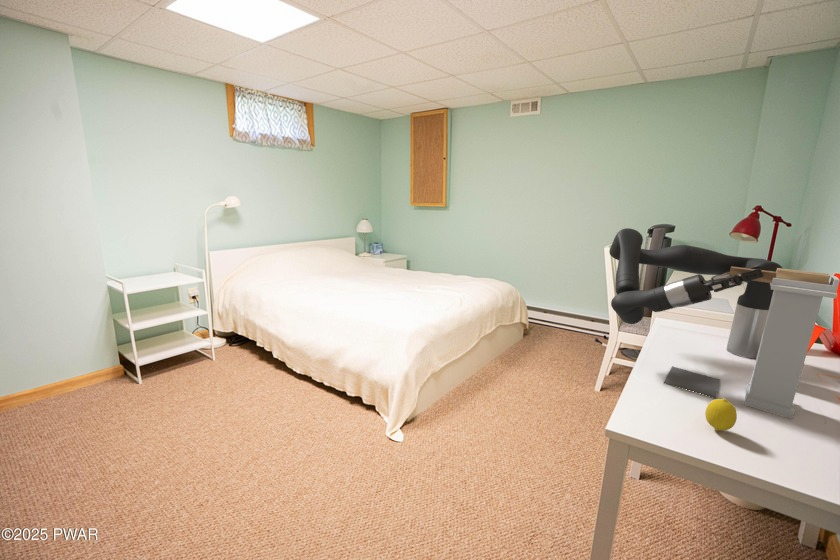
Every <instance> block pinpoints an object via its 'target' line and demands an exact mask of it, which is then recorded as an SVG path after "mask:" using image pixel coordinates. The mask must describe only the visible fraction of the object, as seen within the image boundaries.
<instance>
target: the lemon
mask: <svg viewBox="0 0 840 560" xmlns="http://www.w3.org/2000/svg"><path fill="white" fill-rule="evenodd" d="M704 415H705V420H706V421H707V423H708V424H709V425H710V426H711V427H712V428H713V429H714V430H715V431H717V432H720V431H728V430H731V429H732V428H733V427H734V426H735V424H736V422H737V415H738V414H737V410H736V407H735V406H734V405H733V404H732V402H730V401H728V400H727V399H726V398H716V399H715V398H714V399H713V400H711V401H710V402H709V403H708V404H707V406H706V409H705V413H704Z"/></svg>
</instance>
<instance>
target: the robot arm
mask: <svg viewBox="0 0 840 560" xmlns="http://www.w3.org/2000/svg"><path fill="white" fill-rule="evenodd" d="M643 242H644V238H643V235H642V234H641V232H639V231H638V230H636V229H634V228H628V227H627V228H622V229H621V230H619V231H617V232H616V234H615V236H614V239H613V240H612V243H611V245H610V248H609V255H610V256H611V257H612V258H613V259H615V260H617V261H618V265H617V267H616V269H617V270H616V274H615V285H614V286H615V294H616V295H615V296H613V298H612V299H611V302H610V306H611V308H612V309H613V311H614V312H615V313H616V314H617V316H618V317H619V318H620V319H621V321H622V322H624V323H626V324H628V325H636V324H638V323H640V322H641V321H642V320H643V319H644V316H645V308H646V309H648V310H650V311H651V312H653V313H661V312H663V311H669V310H672V309H677V308H683V307H687V306H691V305H695V304H698V303H699V304H700V303H703V302H706V301H710V300H711V299H712V297H713V296H712V291H713V292H714V293H718V292H722V291H724V290H728V289H732V288H734V287H738V286H741V285H743V284H745V283H746V287H745V291H744V292H743V294H741V295H739V296H738V298H737V300H736V301H737V302H736V304H735V305H736V306H735V310H734V314H733V315H734V316H733V319H732V323H731V327H730V331H729V336H728V340H727V343H726V348H725V349H726V351H727V352H729V353H731V354H733V355H735V356H739V357H742V358H747V359H757V355H758V351H759V347H760V343H761V339H762V335H763V331H764V327H765V323H766V319H767V315H768V311H769V307H770V303H771V299H772V295H773V291H774V290H772V289H771V286H770V283H767V282H760V281H752V280H754V279H757V278H761V277H763V273H762V271H761V270H765V271H773V272H776V271H777V268H781V269H784V268H783V266H781V265H780V264H779V263H777V262H775V261H772V260H768V259H763V258H755V257H743V256H735V255H727V254H725V253H721V252H718V251H715V250H711V249H708V248H707V249H706V248H703V247H698V246H693V245H687V244H678V245H673V246H667V247H662V248H656V249H646V248H645V249H644V248H642V245H643ZM640 265H648V266H655V267H660V268H665V269H672V270H676V271H680V272H684V273H690V274H695V275H692V276H689V277H685V278H682V279H679V280H675V281H672V282H669V283H668V284H665V285H662V286H658V287H655V288H651V289H640ZM731 267H739V268H748V269H755V270H752V271H748V272H745V273H742V274H736V275H731V274H729V273H730V269H731ZM705 275H707V276H711V277H710V279H707V280H706V279H705V277H704V276H705Z"/></svg>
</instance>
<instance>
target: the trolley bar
mask: <svg viewBox="0 0 840 560" xmlns="http://www.w3.org/2000/svg"><path fill="white" fill-rule="evenodd" d="M752 270H755V269H748V268H739V267H731V269H730V273H729V274H731V275H736V274H742V273H745V272H748V271H752ZM761 271H762V273H763V277H761V278H757V279H754V280H752V281H760V282H767V283H772V280H773V278H778V279H786V280H794V281H802V282H810V283H818V284H826V285H828V283H829V281H830V278H831V275H829V273H824V272H823V273H822V272H815V271H805V270H797V269H789V268H783V269H781V268H777V271H776V272H773V271H765V270H761Z"/></svg>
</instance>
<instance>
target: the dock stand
mask: <svg viewBox="0 0 840 560" xmlns="http://www.w3.org/2000/svg"><path fill="white" fill-rule="evenodd" d="M839 284H840V279H839V278H838V277H837V276H835V275H830V279H829V283H828V285H826V284H818V283H810V282H802V281H794V280H786V279H778V278H773V280H772V283H770V286H771V289H772V290H774V291H773V295H772V299H771V303H770V307H769V311H768V315H767V319H766V323H765V327H764V331H763V335H762V339H761V343H760V347H759V351H758V355H757V358H755V362H754V363H755V364H754V366H753V367H754V368H753V372H752V375H751V379H750V382H749V383H747V384H746V389H745V397H744V406H746V407H751V408H754V409H757V410H761V411H764V412H766V413H767V412H768V413H771V414H774V415H777V416H780V417H783V418H787V419H791V420H793V419H794V415H795V408H794V407H795V406H794V400H795V396H796V393H797V391H798V390H797V389H798V386H799V382H800V378H801V375H802V371H803V367H804V364H805V361H806V357H807V354H808V350H809V347H810V343H811V339H812V335H813V333H814V329H815V326H816V322H817V318H818V315H819V311H820V308H821V305H822V302H823V297H824V298H831V299H837V297H838V293H837V291H838V288H839Z"/></svg>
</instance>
